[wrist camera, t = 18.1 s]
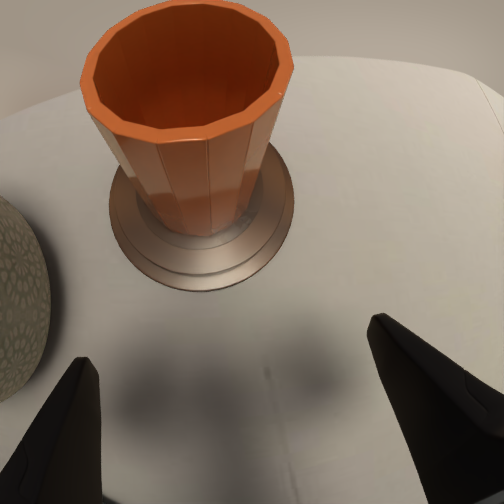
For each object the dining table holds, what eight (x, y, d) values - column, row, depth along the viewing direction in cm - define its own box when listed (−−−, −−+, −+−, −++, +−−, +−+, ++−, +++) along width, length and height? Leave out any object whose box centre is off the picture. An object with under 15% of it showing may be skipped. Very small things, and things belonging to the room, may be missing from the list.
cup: (273, 181, 22) (331, 56, 9) (202, 260, 20) (181, 191, 8) (197, 122, 22) (189, -18, 10) (126, 191, 20) (47, 77, 8)
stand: (261, 316, 23) (267, 318, 20) (86, 256, 22) (72, 250, 19) (310, 149, 25) (319, 134, 23) (154, 104, 24) (149, 86, 22)
